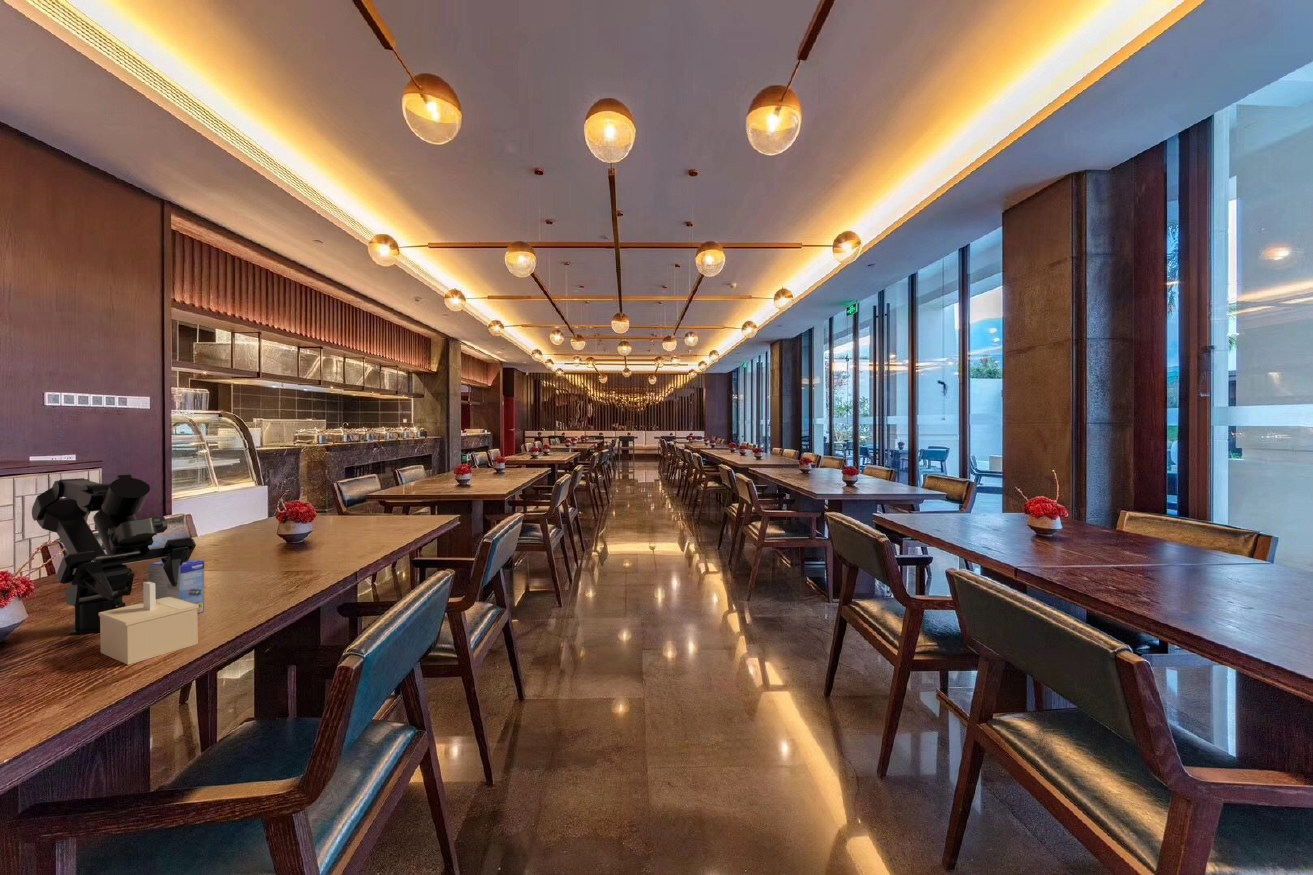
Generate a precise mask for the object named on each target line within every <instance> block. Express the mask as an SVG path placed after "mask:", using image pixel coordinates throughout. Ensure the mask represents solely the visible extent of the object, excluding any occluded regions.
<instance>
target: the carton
mask: <svg viewBox="0 0 1313 875" xmlns="http://www.w3.org/2000/svg"><path fill="white" fill-rule="evenodd" d="M198 621H199V620H198V614H197V608H196V609H192V610H188V611H184V612H180V613H176V614H172V615H168V616H164V617H160V618H156V619H152V620H148V621H144V622H140V623H136V624H132V625H128V626H125V625H122V624H119V623H117V622H114V621H111V620H109V619H106V618H103V617H101V616H100V633H99V634H100V639H99V640H100V642H99V643H100V653H101V654H103V655H104V656H105V655H106V656H107V657H109V658H112V659H114V660H117V661H118V662H120V663H123V664H125V665H133V664H135V663H139V662H142V661H145V660H149V659H152V658H156V657H159V656H162V655H167V654H169V653H173V652H175V651H179V650H183V649H185V648H189V647H192V646H196V645H199V642H198V641H199V640H198V638H199V636H198V635H199V630H198Z"/></svg>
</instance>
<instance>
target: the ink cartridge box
mask: <svg viewBox="0 0 1313 875" xmlns="http://www.w3.org/2000/svg"><path fill="white" fill-rule="evenodd" d="M147 565H148V566H147V567H148V569H147V570H148V571H147V572H148V573H147V574H148V575H147V582H152V583H155V594H156V599H161V598H165V597H173V598H176V599H180V600H183V601H187V602H190V603H194V604H197V605H199V608H197V615H198V614H203V613H205V560H200V559H189V560H188V561H186V562H183V564H182V565H180V566H179V573H178V583H177V585H176V586H175V587H173V586H172V584H171V583H170V581H169V579H168V577H167V575H166V573H165V571H164V568H163V566H164V563H163V562H162V560H161V561H156V562H152V563H149V564H147Z"/></svg>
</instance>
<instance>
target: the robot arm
mask: <svg viewBox="0 0 1313 875" xmlns="http://www.w3.org/2000/svg"><path fill="white" fill-rule="evenodd" d="M150 490H151V487H150V485H149V483H147V482H146V481H143V480H141V479H140V478H135V477H133V476H132V474H129V473H128V474H117V475H116V478H115V480H113V481H112V482H105V483H100V482H96V481H92V480H90V479H89V478H84V477H82V478H81V477H80V478H64V479H63V478H62V479H61V478H60V479H59V480H55V481H54V482H53V484H52V486H51V487H50V488H49V489H46V490H45V491H43V492H42V493H40V494H39V495H37V496H36V498H35V500H34V502H33V505H32V507H31V515H32V516H31V517H32V519H33V521H36V522H37V524H38V525H39V527H40V528H41V529H43V530H45V531H50V532H53V533H56V534H57V536H58V538H59V539H60V540H61V543H62V545H63V546H64V548H65V550H66V552H67V553H68V554H65V556H64V557H62V559H61V561H60V565H58V569H57V576H56V577H57V578H58V583H60V584H63V585H65V584H69V585H68V587H67V589H66V591H65V595H64V596H65V602H66V604H67V605H69V606H72V607H74V629H73V630H71V631H68V635H79V634H88V633H98V632H100V616H99V612H104V611H108V610H113V609H117V608H122V607H126V602H124V601H123V597H124V596H126V597H127V596H131V594H132V593H131V592H132V590H133V582H134V577H135V573H134V572H133V569H132V568H131V567H129V566H128V564H134V563H139V562H140V563H141V562H146V561H152V560H159V559H161V561H162V562H163V563H164V566H163V568H164V571H165V573H166V575H167V577H168V579H169V581H170V583H171V584H172V586H173V587H175V586H176V585H177V583H178V573H179V566H180V565H182V564H183V562H186V561H188V560H190V557H191V556H192V554H193V552H194V550H195V548H196V546H197V544H196V542H195V540H194V538H192V537H190V536H186V537H185V536H184V537H179V538H178V537H177V538H173V539H167V541H166V542H165V544H164V547H160V548H153V549H150V547H149V546H153V544H154V539H153V537H154V536H157V535H158V534H161V533H162V534H163V533H164V532H165V531H166V530H168V527H169V526H168V523H167V522H168V521H167V520H166V518H165V516H164V515H158V516H152V517H151V518H147V519H138V520H137V517H136V515H137V514H139V513H140V512H141V511H142V508H143V506H144V504H145V501H146V499H147V497H148V495H149V494H150ZM91 512H95V514H94V515H93V517H92V518H93V519H92V520H93V522H94V531H97V532H98V534H99V538H100V540H101V544H100V541H99V540H98V539H97V537H96V536H95V534H94V532H93V530H92V529H91V527H90V526H89V524H88V519H89V516H90V514H91Z"/></svg>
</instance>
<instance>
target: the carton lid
mask: <svg viewBox="0 0 1313 875" xmlns="http://www.w3.org/2000/svg"><path fill="white" fill-rule="evenodd" d="M142 590H143V591H142V592H143V593H142V594H143V596H142V597H143V598H142V599H143V602H139V603H135V604H131V605H125V607H122V608H117V609H113V610H108V611H104V612H99V616H101V617H103V618H106V619H109V620H111V621H114V622H117V623H119V624H122V625H125V626H128V625H132V624H136V623H140V622H144V621H148V620H152V619H156V618H160V617H164V616H168V615H172V614H176V613H180V612H184V611H188V610H192V609H196V608H199V605H197V604H194V603H190V602H187V601H183V600H180V599H176V598H173V597H165V598H161V599H156V594H155V583H152V582H148V581H144V582H143V587H142Z"/></svg>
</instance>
